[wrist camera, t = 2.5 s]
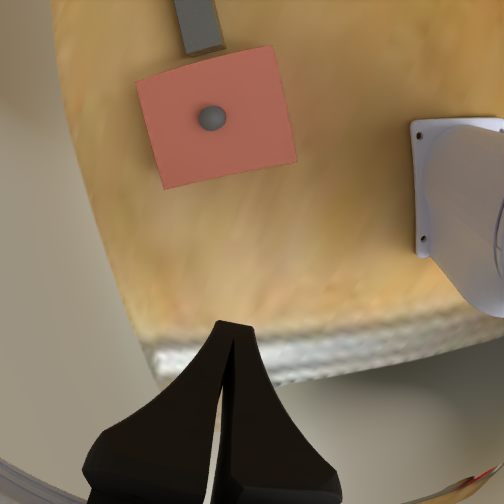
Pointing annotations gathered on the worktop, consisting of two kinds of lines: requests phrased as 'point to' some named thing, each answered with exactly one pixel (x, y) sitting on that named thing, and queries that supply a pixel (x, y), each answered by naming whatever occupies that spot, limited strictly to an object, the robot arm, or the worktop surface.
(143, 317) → the worktop surface
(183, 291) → the worktop surface
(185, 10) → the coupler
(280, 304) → the worktop surface
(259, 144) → the lock
